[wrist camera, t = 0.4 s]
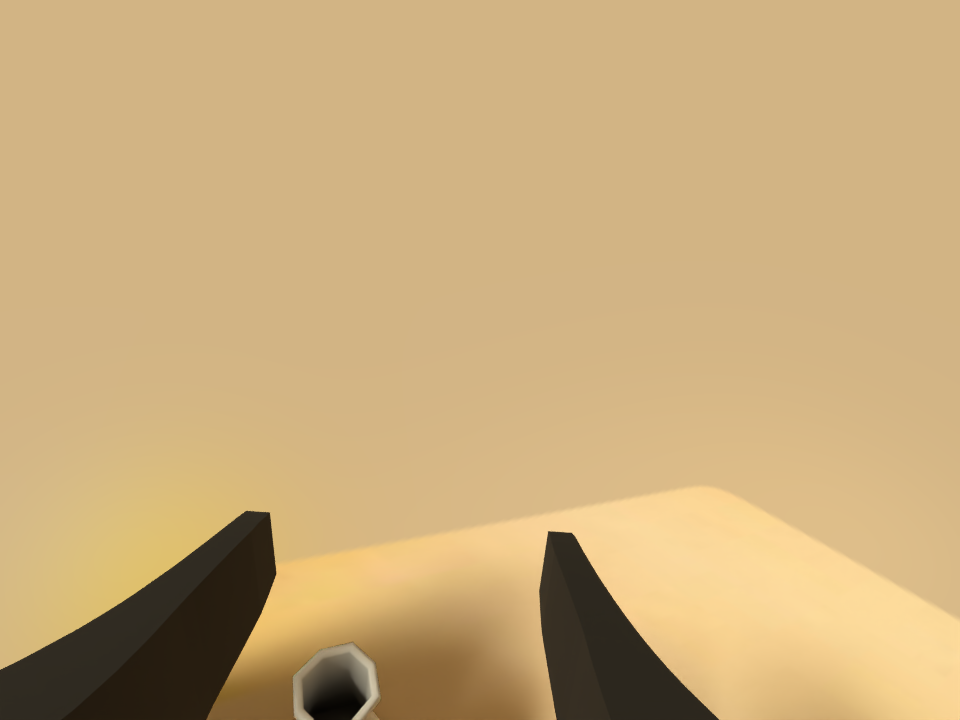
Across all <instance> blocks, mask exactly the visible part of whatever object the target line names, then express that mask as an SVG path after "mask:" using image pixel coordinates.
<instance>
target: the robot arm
mask: <svg viewBox="0 0 960 720" xmlns="http://www.w3.org/2000/svg"><path fill="white" fill-rule="evenodd" d="M275 576H276V566H275V556H274V547H273V538H272V529H271V519H270V513H269V512H254V511H246V512H244V513H243V514H241V515H240V516H239V517H237V518H236V519H235V520H234V521H232V522H231V523H230V524H228V525H227V526H226V527H225V528H223V529H222V530H221V531H219V532H218V533H217V534H216V535H215V536H213V537H212V538H211V539H209V540H208V541H207V542H205V543H204V544H203V545H201V546H200V547H199V548H198V549H196V550H195V551H194V552H192V553H191V554H190V555H188V556H187V557H186V558H184V559H183V560H182V561H180V562H179V563H178V564H176V565H175V566H174V567H172V568H171V569H169V570H168V571H167V572H165V573H164V574H162V575H161V576H159V577H158V578H157V579H155V580H154V581H152V582H151V583H150V584H148V585H147V586H145V587H144V588H142V589H141V590H139V591H138V592H137V593H135V594H134V595H132V596H131V597H129V598H128V599H126V600H125V601H123V602H122V603H120V604H118V605H117V606H115V607H114V608H112V609H111V610H109V611H107V612H106V613H104V614H102V615H101V616H99V617H97V618H96V619H94V620H92V621H91V622H89V623H87V624H86V625H84V626H82V627H81V628H79V629H77V630H75V631H74V632H72V633H70V634H68V635H66V636H64V637H62V638H61V639H59V640H57V641H55V642H53V643H51V644H50V645H48V646H46V647H44V648H42V649H41V650H38V651H37V652H35V653H33V654H31V655H29V656H27V657H25V658H23V659H21V660H20V661H17V662H16V663H14V664H12V665H9V666H7V667H5V668H3V669H1V670H0V720H206V719H207V716H208V714H209V712H210V710H211V708H212V706H213V704H214V702H215V700H216V698H217V697H218V695H219V693H220V691H221V689H222V687H223V685H224V683H225V681H226V680H227V678H228V676H229V674H230V672H231V670H232V668H233V666H234V664H235V663H236V661H237V659H238V657H239V655H240V653H241V651H242V649H243V648H244V646H245V644H246V642H247V640H248V638H249V636H250V634H251V632H252V630H253V628H254V626H255V625H256V623H257V621H258V619H259V617H260V615H261V613H262V610H263V608H264V605H265V603H266V600H267V598H268V595H269V592H270V590H271V587H272V584H273V582H274V579H275ZM539 594H540V612H541V627H542V636H543V642H544V648H545V654H546V660H547V666H548V672H549V678H550V683H551V689H552V695H553V701H554V707H555V713H556V718H557V720H719V719H718V718H717V717H716V716H715V715H714V714H713V713H712V712H711V711H710V710H709V709H708V708H707V707H706V706H704V705H703V704H702V703H701V702H700V701H699V700H698V699H697V698H696V697H695V696H694V695H693V694H692V693H691V692H690V691H689V690H688V689H687V688H686V687H685V686H684V685H683V684H682V683H681V682H680V681H679V680H678V678H677V677H676V676H675V675H674V674H673V673H672V672H671V671H670V670H669V669H668V668H667V667H666V665H665V664H664V663H663V662H662V661H661V660H660V659H659V657H658V656H657V655H656V654H655V653H654V652H653V650H652V649H651V648H650V647H649V646H648V644H647V643H646V642H645V641H644V639H643V638H642V637H641V636H640V634H639V633H638V632H637V631H636V629H635V628H634V627H633V625H632V624H631V623H630V621H629V620H628V619H627V617H626V616H625V615H624V613H623V612H622V611H621V609H620V608H619V606H618V605H617V604H616V602H615V601H614V599H613V598H612V596H611V595H610V593H609V592H608V590H607V589H606V587H605V586H604V584H603V583H602V581H601V580H600V578H599V577H598V575H597V573H596V572H595V570H594V568H593V567H592V565H591V564H590V562H589V560H588V559H587V557H586V555H585V553H584V552H583V550H582V548H581V546H580V545H579V543H578V541H577V539H576V537H575V536H574V535H573V534H572V533H565V532H550V531H548V537H547V543H546V550H545V557H544V563H543V570H542V577H541V583H540V590H539Z"/></svg>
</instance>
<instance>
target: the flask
mask: <svg viewBox="0 0 960 720" xmlns="http://www.w3.org/2000/svg"><path fill="white" fill-rule="evenodd" d="M380 700H381V694H380V688H379V682H378V675H377V669H376V663H375V662H374V661H373V660H372V659H371V658H370V657H369V656H368V655H367V654H365V653H364V652H363V651H362V650H361V649H360V648H359V647H358V646H357V645H355V644H354V643H353V642H351V643H346V644H342V645H338V646H334V647H329V648H325V649H321V650H319V651H318V652H317V653H316V654H315V655H314V656H313V657H312V658H311V659H310V660H309V661H308V662H307V663H306V664H305V665H304V666H303V667H302V668H301V669H300V670H299V671H298V672H297V673H296V674H295V675H294V676H293V706H294V717H295V719H296V720H380V719H379V718H378V717H377V716H376V714H375V713H374V712H373V709H374V708H375V707H376V706H377V705H378V703H379V702H380Z"/></svg>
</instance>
